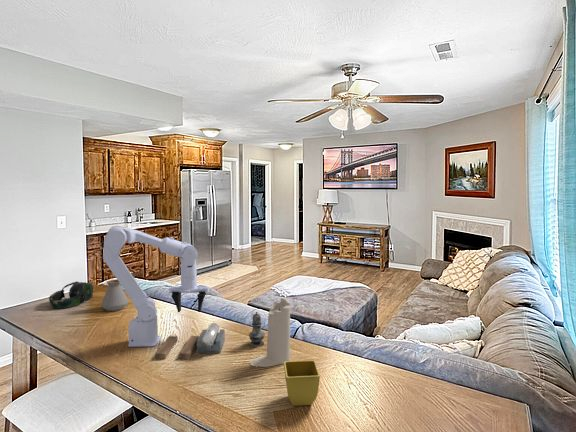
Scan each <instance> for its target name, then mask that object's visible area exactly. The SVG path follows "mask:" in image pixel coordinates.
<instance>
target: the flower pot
mask: <svg viewBox="0 0 576 432" xmlns="http://www.w3.org/2000/svg"><path fill="white" fill-rule="evenodd" d="M283 368H284V377H285V379H284V380H285V384H286V390H287V396H288V399H289V402H290V403H291V405H292V406H293V407H297V406H311V405H313V404H314V403H315V401H316V399H317V397H318V393H319V387H320V378H321V373H320V372H319V369H318V366H317V363H316V360H313V359H307V360H289V361H285V362H284V364H283Z"/></svg>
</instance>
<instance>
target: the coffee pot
mask: <svg viewBox="0 0 576 432" xmlns="http://www.w3.org/2000/svg"><path fill="white" fill-rule="evenodd" d="M139 274H141V275H143V274H144V272H142V270H138V271H136V272H135V273H134V274H132V276H133V277H134V278H135V277H136V276H137V275H139ZM106 284H107V286H108V287H107V289H106V291H105V294H104V296H103V299H102V301H101V305H100V306H101V307H102V308H103V309H104V310H105V311H107V312H118V311H121V310H123V309H125V307H127V305H128V304H129V298H128V297H127V294H126V292H125V290H124V288H123V287H122V285H121V284H120V283H119V281H118V280H117V279H111V280H107V281H106Z"/></svg>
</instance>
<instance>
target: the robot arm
mask: <svg viewBox="0 0 576 432" xmlns="http://www.w3.org/2000/svg"><path fill="white" fill-rule="evenodd" d="M126 242H127V243H128V244H131V243H135V242H137V243H142V244H145V245H149V246H152V247H155V248H156V247H157V248H159V251H160V253H164V254H166V255H170V256H173V257H176V258H180V263H181V264H180V286H169V288H168V293H169V294H171V295H170V296H171V298H172V300H173V302H174V303H175V306H176V307H175V308H176V310H177V312H178V313H180V312H181V311H182V299H181V298H182V293H185V294H186V293H187V294H188V293H190V294H192V293H193V294H195V293H196V294H197V295H196V296H197V303H198V304H197V313H201V312H202V306H203V302H204V300H205V298H206V297H205V296H206V295H207V294H209V292H210V287H209V286H201V285H198V283H197V282H198V281H197V276H198V275H197V273H198V272H197V257H198V255H199V253H198V250H197V248H196V247H194V246H193V245H192V244H191V243H189V242H188V243H187V242H186V241H179V240H176V239H175V238H174V237H173V236H169V237H164V238H160V237H156V236H154V235H151V234H148V233H146V232H143V231H140V230H137V229H133V228H130V227H123V226H121V225H114V226H111V227H110V228H109V229H108V231H107V233H106V234H105V237H104V240H103V252H102V253H103V254H102V260H103V261H104V263H105V264H106V265H107V267H108V268H109V270H110V271H111V273H112V274H113V276H115V278H116V280H118V281H119V283H120V284H121V285H122V286H121V287H122V289H123V291H124V292H125V294H126V295H128V297H129V298H130V300H131V302H132V304H133V306H134V307H135V309H136V311H137V316H136V317H135V318H131V319H130V321H129V322H128V323H129V324H128V347H129V348H131V347H136V348H137V347H138V348H139V347H155V346H156V345H157V344H158V343H159V342H160V340H161V339H162V335H159V333H158V332H159V331H158V315H157V312H158V311H157V310H158V309H157V308H156V305H155V304H156V303H155V301H154V299H153V298H152V297H150V296H148V295H147V294H146V292H145V291H144V290H143V289H142V287H141V286H140V284H139V283H138V281H137V280H136V279H135V277H133V276H132V275H133V273H132V272H131V271H130V269H129V268H128V267H127V266H126V264H125V262H124V260H123V259H122V258H121V257H120V253H121V250H122V247H124V245H125V244H126Z"/></svg>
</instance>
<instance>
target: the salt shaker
mask: <svg viewBox="0 0 576 432" xmlns="http://www.w3.org/2000/svg"><path fill="white" fill-rule="evenodd" d="M261 319H262V318H261V314H259V313H258V311H255V314H253V315H252V323H251V326H252V331H251V332H249V333H248V336H249V340H250V342H249V346H251V347H253V348H260V347H262V346H264V345H265V342H264V341H263V340H264V338H265V335H266V333H265V332H264V331H262V325H263V323H262V322H261Z"/></svg>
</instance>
